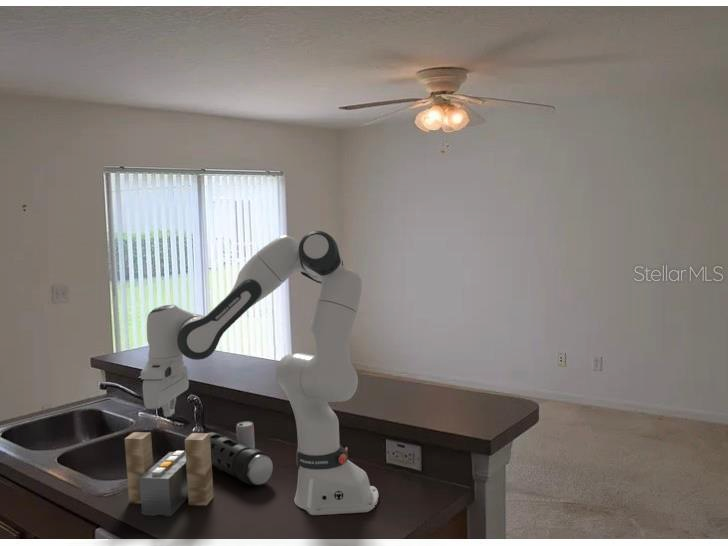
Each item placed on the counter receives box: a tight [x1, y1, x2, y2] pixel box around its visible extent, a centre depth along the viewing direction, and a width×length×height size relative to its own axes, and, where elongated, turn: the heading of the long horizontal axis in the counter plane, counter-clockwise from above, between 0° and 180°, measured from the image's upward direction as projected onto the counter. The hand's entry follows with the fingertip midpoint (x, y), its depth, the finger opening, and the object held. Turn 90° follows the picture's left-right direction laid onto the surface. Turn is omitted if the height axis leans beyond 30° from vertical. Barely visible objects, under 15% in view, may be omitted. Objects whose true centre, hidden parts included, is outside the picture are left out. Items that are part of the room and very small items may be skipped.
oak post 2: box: [184, 432, 214, 506], centre depth 173 cm, size 5×5×18 cm
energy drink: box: [235, 420, 256, 449], centre depth 200 cm, size 5×5×12 cm
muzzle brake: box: [209, 431, 274, 486], centre depth 190 cm, size 10×28×10 cm, turn 44°
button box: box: [139, 450, 188, 517], centre depth 175 cm, size 8×18×11 cm, turn 172°
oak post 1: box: [124, 431, 154, 502], centre depth 175 cm, size 5×5×18 cm
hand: (169, 415), depth 175 cm, fingers closed
